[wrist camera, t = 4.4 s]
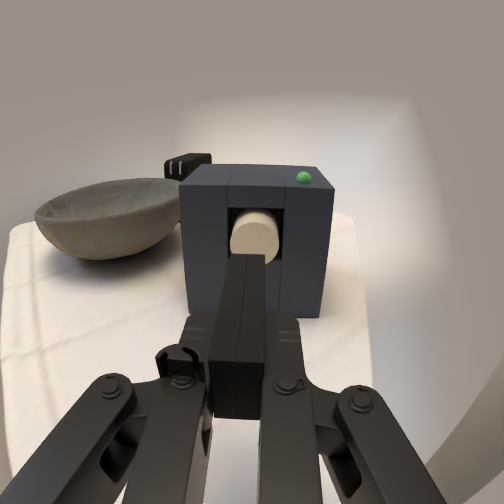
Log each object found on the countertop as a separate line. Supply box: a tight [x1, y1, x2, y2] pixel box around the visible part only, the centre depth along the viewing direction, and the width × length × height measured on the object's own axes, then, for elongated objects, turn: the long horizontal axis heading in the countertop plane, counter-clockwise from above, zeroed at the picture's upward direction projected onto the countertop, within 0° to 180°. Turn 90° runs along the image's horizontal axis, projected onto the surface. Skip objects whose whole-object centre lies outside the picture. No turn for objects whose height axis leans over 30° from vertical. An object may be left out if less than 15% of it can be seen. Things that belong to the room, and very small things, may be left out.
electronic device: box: [164, 153, 212, 221], centre depth 53 cm, size 4×10×10 cm, turn 164°
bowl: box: [35, 178, 181, 260], centre depth 40 cm, size 21×21×8 cm
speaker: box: [178, 164, 335, 318], centre depth 30 cm, size 10×12×13 cm
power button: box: [230, 208, 279, 264], centre depth 25 cm, size 4×4×4 cm
